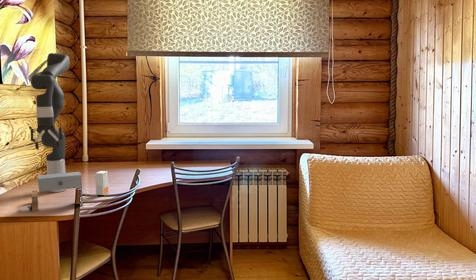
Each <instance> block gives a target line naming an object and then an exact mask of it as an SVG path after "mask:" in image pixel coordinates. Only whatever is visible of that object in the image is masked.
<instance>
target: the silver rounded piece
mask: <svg viewBox="0 0 476 280" xmlns="http://www.w3.org/2000/svg"><path fill="white" fill-rule="evenodd" d="M19 212H20V213H29V212H32V204H31V205H30V204H29V205H22V206H20V207H19Z"/></svg>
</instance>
